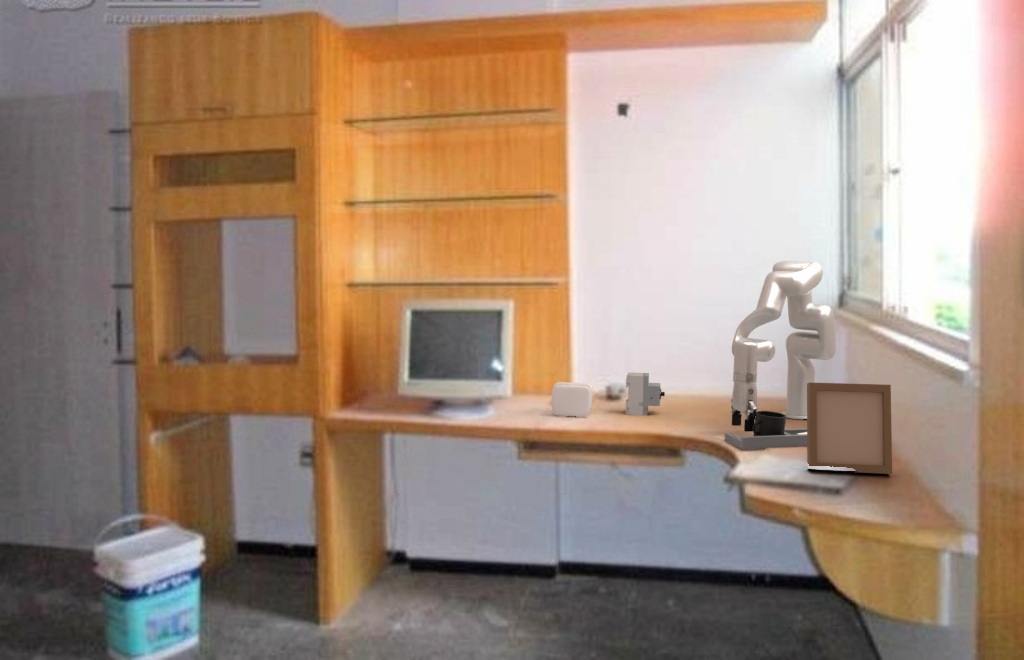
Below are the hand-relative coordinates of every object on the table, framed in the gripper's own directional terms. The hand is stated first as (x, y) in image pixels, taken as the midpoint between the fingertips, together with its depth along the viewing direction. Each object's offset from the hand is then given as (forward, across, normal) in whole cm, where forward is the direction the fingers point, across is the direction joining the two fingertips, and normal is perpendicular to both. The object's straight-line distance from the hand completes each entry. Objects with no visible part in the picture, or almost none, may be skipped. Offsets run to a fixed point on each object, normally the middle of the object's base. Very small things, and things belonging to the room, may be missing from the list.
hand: (742, 428), depth 285 cm
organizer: (+3, -12, -7) cm, 14 cm away
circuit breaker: (+3, +41, +20) cm, 46 cm away
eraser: (+2, -11, -17) cm, 20 cm away
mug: (+2, -10, -3) cm, 11 cm away
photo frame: (+3, -44, -11) cm, 45 cm away
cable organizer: (+3, +44, +48) cm, 65 cm away
